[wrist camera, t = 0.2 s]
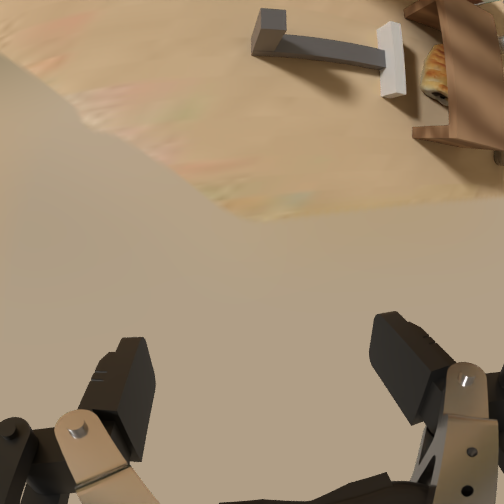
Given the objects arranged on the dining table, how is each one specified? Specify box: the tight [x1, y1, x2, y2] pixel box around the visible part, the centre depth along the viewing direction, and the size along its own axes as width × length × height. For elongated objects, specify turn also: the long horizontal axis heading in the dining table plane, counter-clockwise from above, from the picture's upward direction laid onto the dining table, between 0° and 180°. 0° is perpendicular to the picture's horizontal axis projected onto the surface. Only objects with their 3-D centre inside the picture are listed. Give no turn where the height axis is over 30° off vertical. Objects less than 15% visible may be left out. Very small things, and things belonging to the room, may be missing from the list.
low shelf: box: [404, 0, 504, 151], centre depth 30 cm, size 20×10×10 cm, turn 0°
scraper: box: [251, 8, 406, 98], centre depth 29 cm, size 10×18×9 cm, turn 90°
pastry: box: [420, 44, 448, 106], centre depth 33 cm, size 9×7×4 cm
